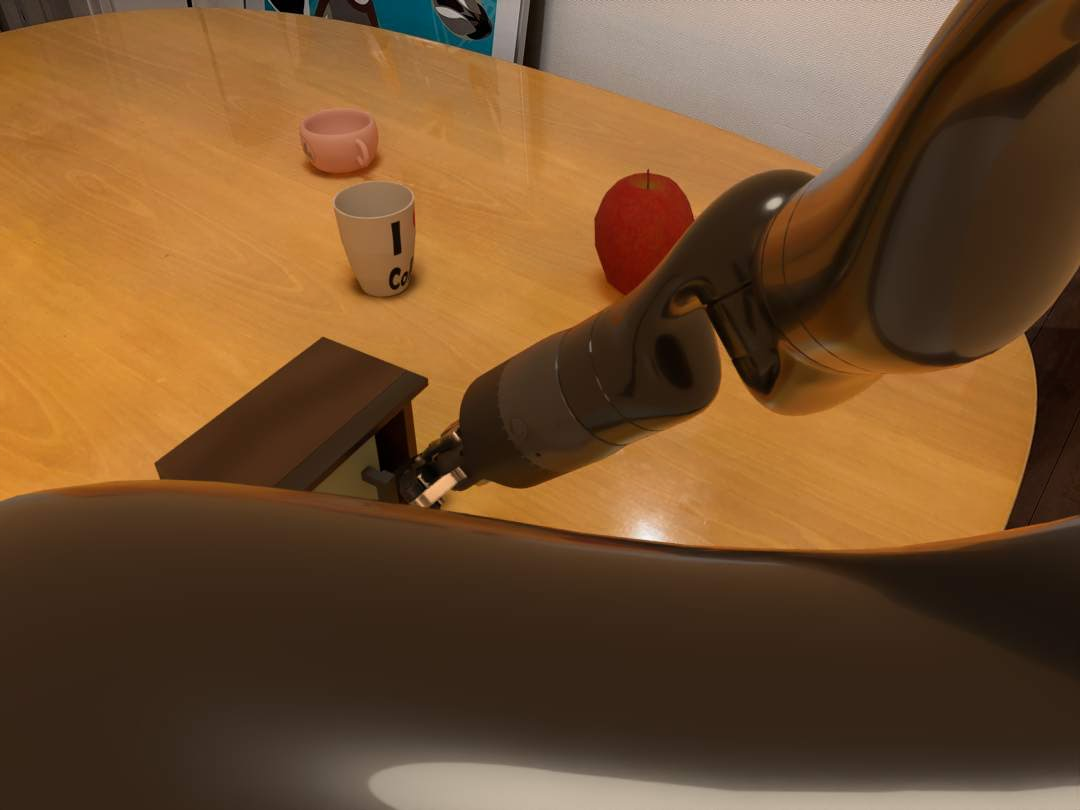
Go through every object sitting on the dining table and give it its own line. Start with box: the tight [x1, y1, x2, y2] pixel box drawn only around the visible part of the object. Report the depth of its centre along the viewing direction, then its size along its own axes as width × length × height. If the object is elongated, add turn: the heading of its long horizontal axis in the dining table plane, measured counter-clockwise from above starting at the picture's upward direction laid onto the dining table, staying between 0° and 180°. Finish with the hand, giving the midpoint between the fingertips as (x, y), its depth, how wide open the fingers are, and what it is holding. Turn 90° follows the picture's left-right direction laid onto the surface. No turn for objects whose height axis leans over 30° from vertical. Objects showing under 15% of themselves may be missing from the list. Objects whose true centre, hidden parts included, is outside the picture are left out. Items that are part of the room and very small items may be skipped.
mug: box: [298, 107, 379, 174], centre depth 115 cm, size 12×10×6 cm
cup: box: [332, 180, 417, 298], centre depth 92 cm, size 8×8×10 cm
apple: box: [593, 168, 696, 297], centre depth 90 cm, size 10×10×14 cm
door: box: [312, 435, 399, 503], centre depth 60 cm, size 3×8×10 cm, turn 149°
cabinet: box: [153, 336, 429, 505], centre depth 63 cm, size 10×16×12 cm, turn 149°
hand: (404, 480), depth 63 cm, fingers closed
